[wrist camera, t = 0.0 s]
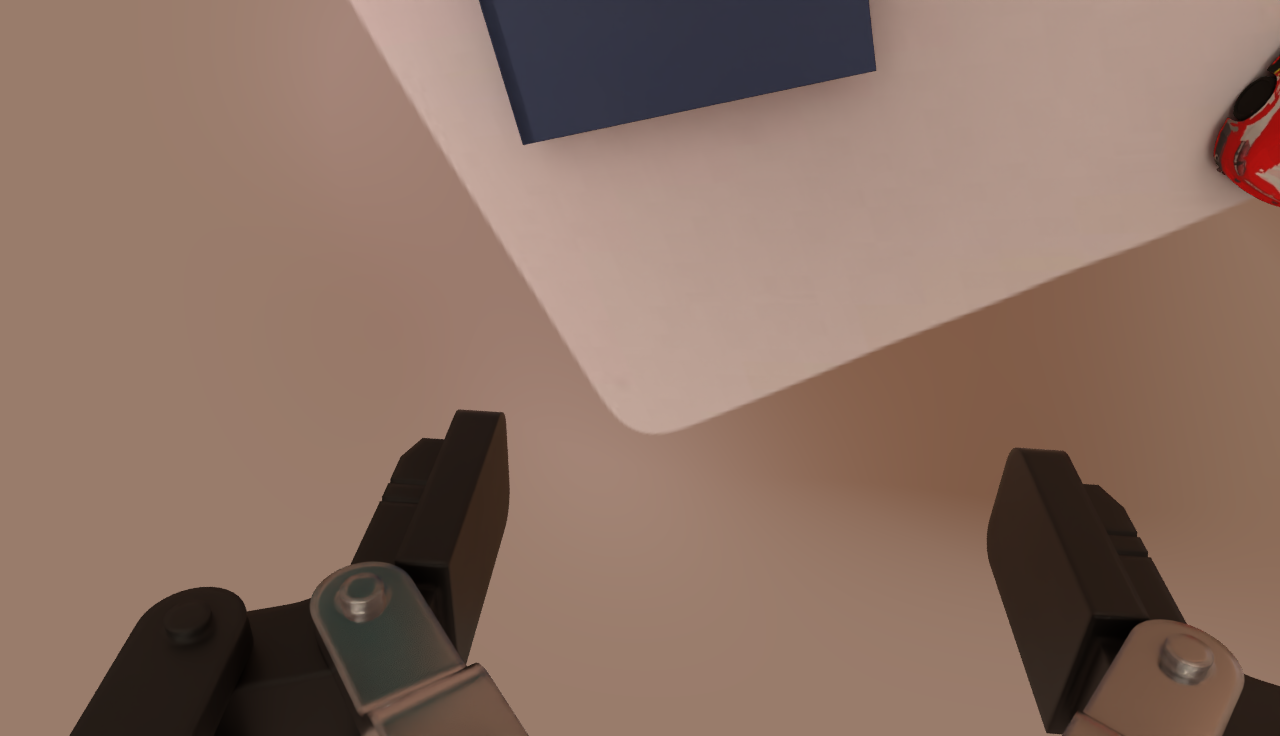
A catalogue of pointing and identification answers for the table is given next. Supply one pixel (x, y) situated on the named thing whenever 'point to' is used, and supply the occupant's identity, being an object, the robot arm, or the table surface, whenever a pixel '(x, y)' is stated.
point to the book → (664, 55)
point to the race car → (1254, 140)
